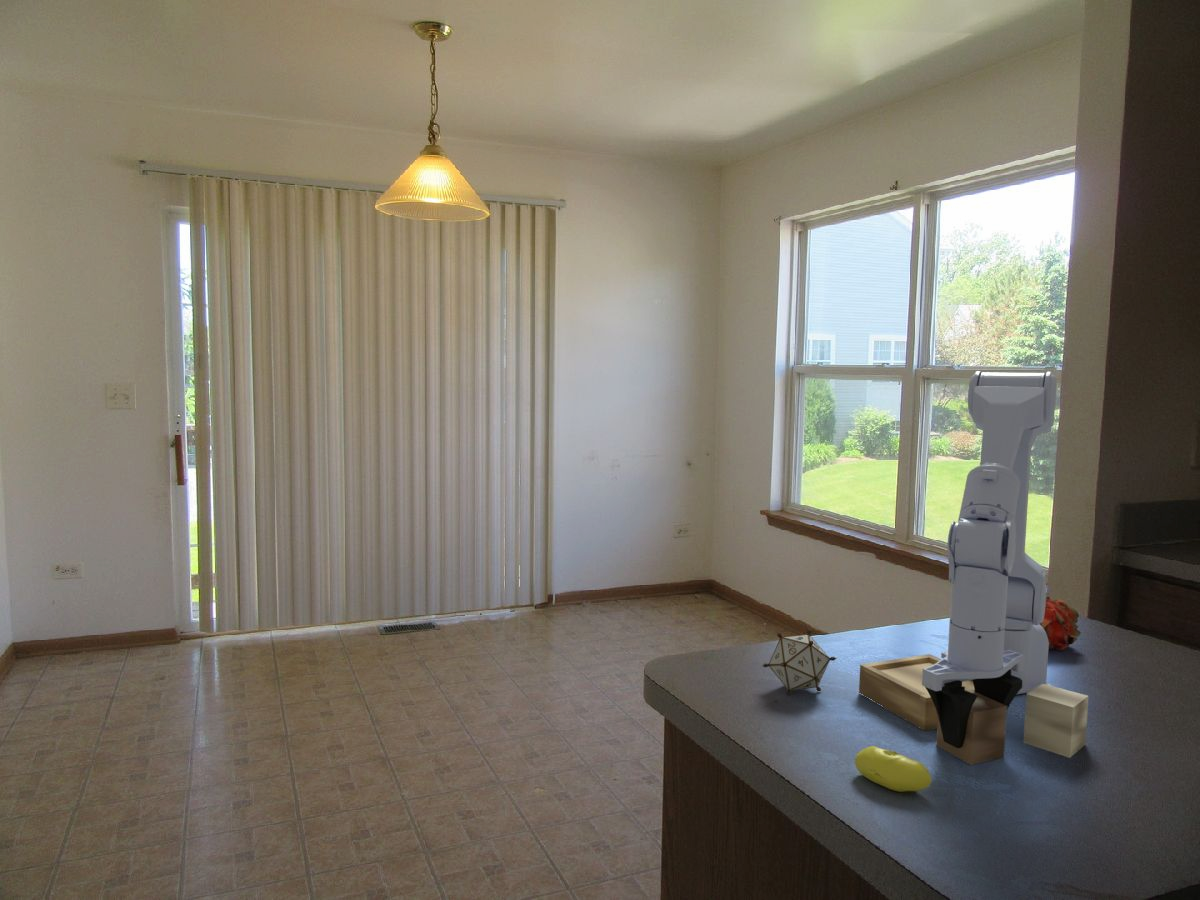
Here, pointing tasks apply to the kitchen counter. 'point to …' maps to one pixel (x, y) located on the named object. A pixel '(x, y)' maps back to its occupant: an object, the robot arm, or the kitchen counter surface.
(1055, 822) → the kitchen counter surface
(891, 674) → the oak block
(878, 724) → the kitchen counter surface
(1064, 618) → the dragon fruit
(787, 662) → the game die
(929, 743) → the kitchen counter surface
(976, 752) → the walnut cube
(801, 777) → the kitchen counter surface
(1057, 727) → the maple cube
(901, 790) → the yellow oval lump
